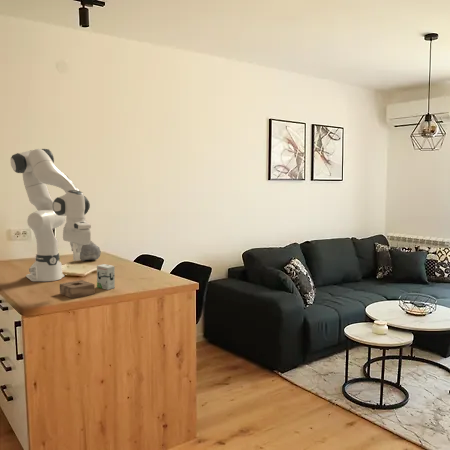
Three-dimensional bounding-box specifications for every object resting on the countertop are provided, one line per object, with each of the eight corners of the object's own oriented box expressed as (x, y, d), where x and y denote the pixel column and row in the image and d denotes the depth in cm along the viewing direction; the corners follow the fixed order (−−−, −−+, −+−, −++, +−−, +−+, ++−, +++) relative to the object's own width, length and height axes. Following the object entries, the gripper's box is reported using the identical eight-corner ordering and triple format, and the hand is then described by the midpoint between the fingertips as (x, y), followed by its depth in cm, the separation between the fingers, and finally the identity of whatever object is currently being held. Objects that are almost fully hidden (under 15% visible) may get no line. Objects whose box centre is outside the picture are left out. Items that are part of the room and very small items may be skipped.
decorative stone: (99, 258, 321) (98, 237, 319) (102, 261, 312) (101, 239, 310) (76, 260, 314) (76, 238, 312) (79, 263, 305) (78, 240, 303)
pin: (72, 260, 226) (71, 239, 225) (77, 259, 228) (77, 239, 227) (75, 260, 224) (74, 240, 223) (81, 260, 226) (80, 240, 225)
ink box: (96, 287, 241) (96, 265, 240) (103, 285, 245) (103, 263, 244) (108, 290, 237) (107, 267, 235) (115, 288, 241) (115, 265, 239)
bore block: (59, 293, 227) (59, 283, 227) (81, 289, 236) (81, 280, 236) (72, 298, 219) (72, 288, 219) (94, 294, 228) (94, 284, 228)
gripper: (59, 222, 229) (59, 249, 230) (80, 226, 215) (81, 255, 216) (70, 221, 233) (71, 248, 235) (92, 225, 220) (93, 253, 221)
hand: (76, 251), depth 225 cm, fingers closed on pin, 3 cm apart
